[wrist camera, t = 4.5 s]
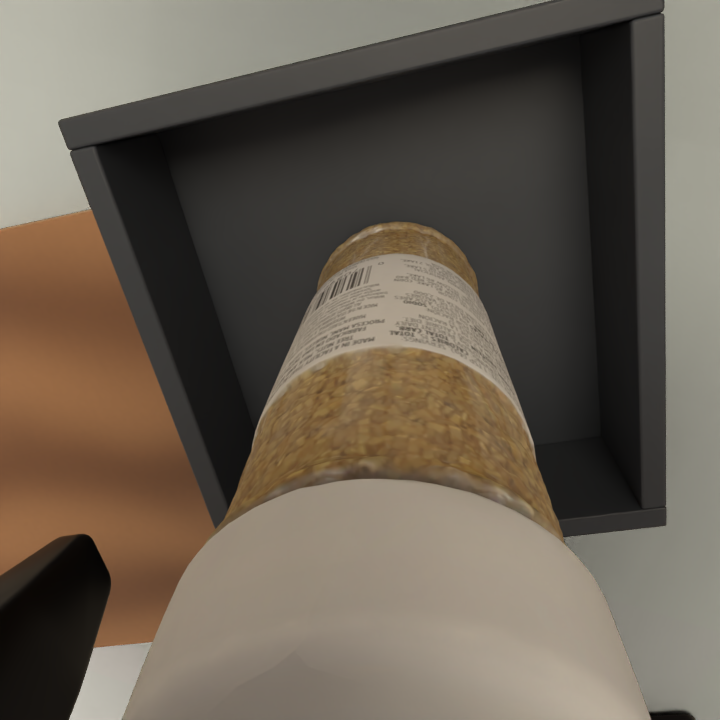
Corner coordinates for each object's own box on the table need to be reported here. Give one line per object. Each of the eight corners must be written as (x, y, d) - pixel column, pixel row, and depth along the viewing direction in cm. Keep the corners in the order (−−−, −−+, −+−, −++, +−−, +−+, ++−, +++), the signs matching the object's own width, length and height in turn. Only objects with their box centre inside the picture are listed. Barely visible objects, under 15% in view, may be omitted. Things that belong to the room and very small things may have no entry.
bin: (618, 444, 19) (667, 526, 15) (261, 492, 20) (231, 575, 17) (601, 0, 14) (666, -28, 10) (133, 112, 15) (55, 120, 12)
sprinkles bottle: (367, 393, 18) (290, 1029, 6) (286, 265, 17) (-39, 768, 4) (507, 327, 17) (771, 954, 5) (434, 182, 15) (547, 558, 3)
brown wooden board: (274, 620, 23) (271, 631, 22) (40, 643, 24) (33, 654, 24) (121, 202, 16) (114, 205, 16) (-184, 267, 18) (-199, 272, 18)
